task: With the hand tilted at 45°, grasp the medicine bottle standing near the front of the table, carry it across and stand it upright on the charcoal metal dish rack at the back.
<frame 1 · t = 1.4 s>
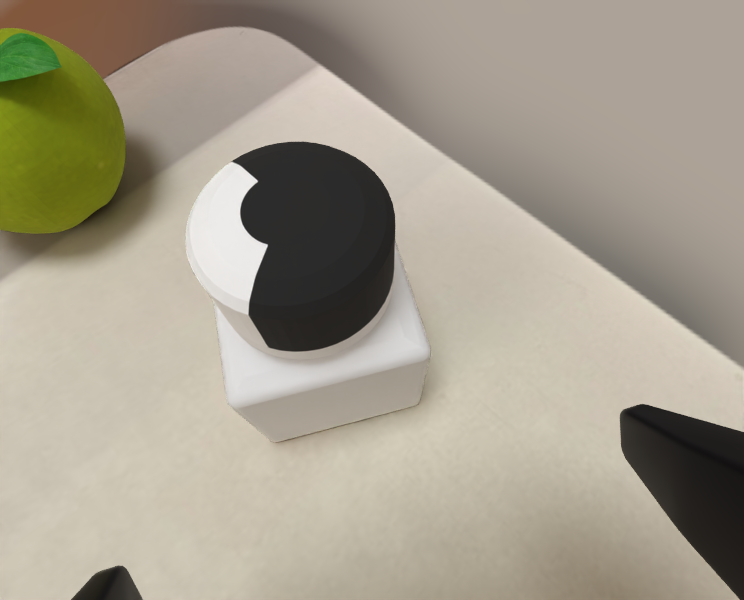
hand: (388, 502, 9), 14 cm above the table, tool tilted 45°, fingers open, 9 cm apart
fruit: (79, 199, 29), on the table
medicine bottle: (331, 355, 25), on the table
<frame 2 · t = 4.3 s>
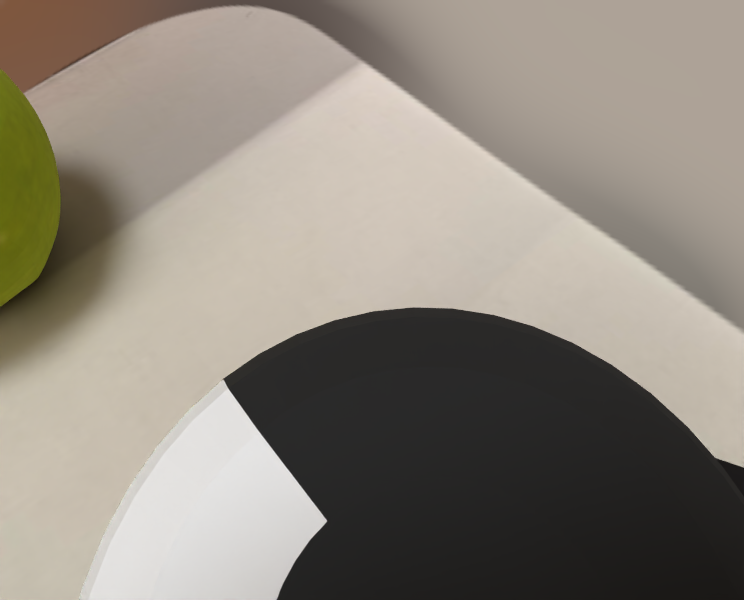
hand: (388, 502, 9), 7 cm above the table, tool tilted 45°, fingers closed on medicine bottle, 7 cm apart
medicine bottle: (399, 567, 14), on the table, touching gripper
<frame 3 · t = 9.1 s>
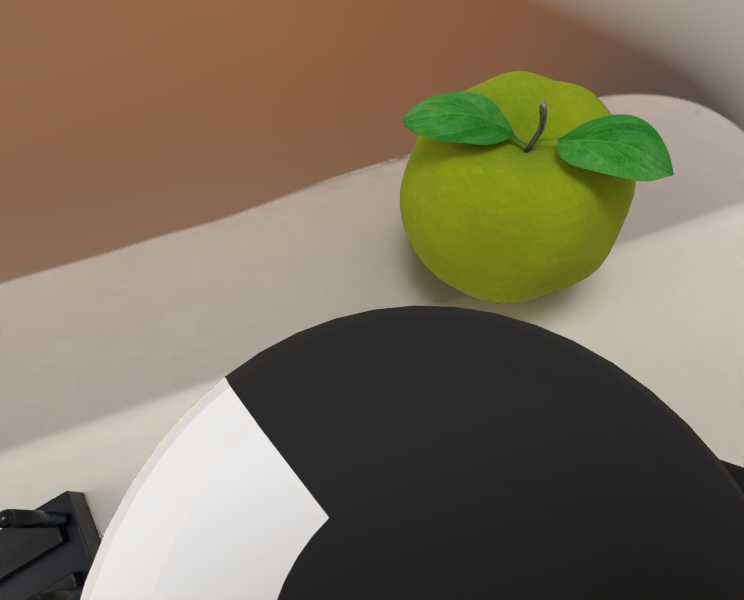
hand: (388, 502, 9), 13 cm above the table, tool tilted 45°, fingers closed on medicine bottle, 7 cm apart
fruit: (489, 252, 26), on the table
medicine bottle: (400, 566, 14), point 7 cm above the table, touching gripper
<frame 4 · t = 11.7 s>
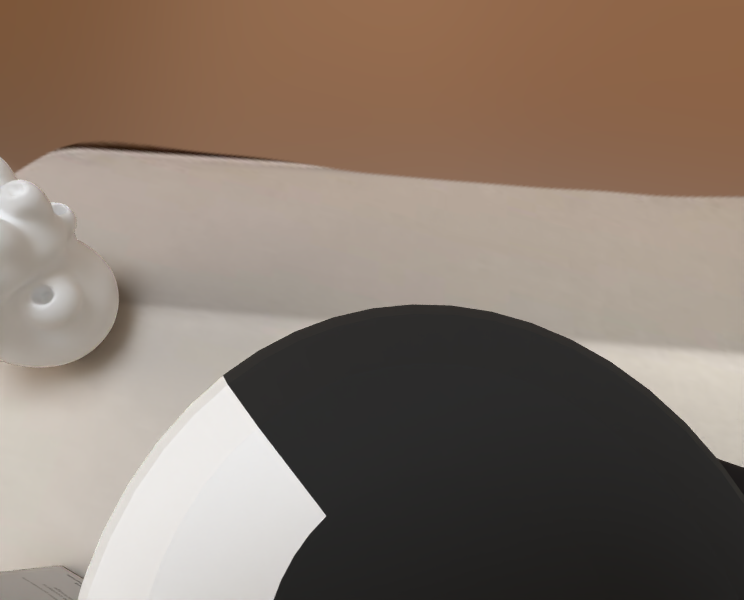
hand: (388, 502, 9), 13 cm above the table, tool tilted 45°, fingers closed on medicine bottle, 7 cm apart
figurine: (77, 329, 25), on the table
medicine bottle: (399, 565, 14), point 6 cm above the table, touching gripper
when the fingers open (8 cm above the table, at t = 13.7 s): medicine bottle stays where it is, resting on dish rack.
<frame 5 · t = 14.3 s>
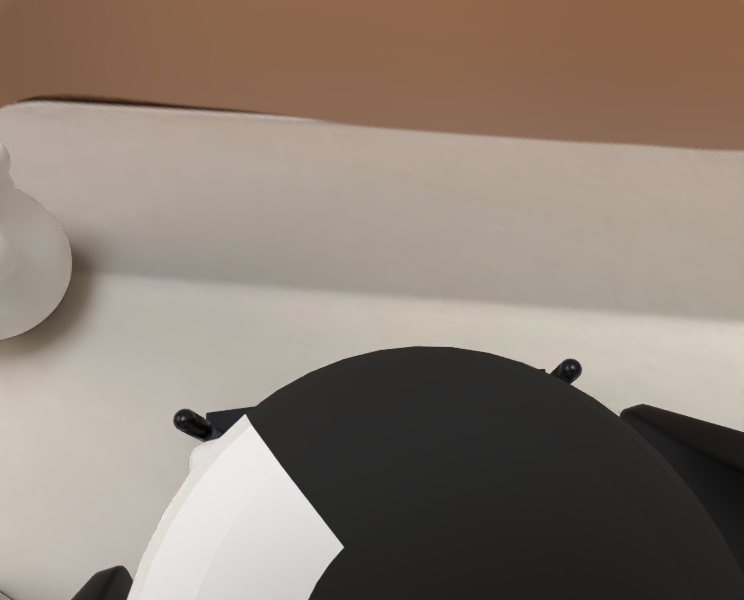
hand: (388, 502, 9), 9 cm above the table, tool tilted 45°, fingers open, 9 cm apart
dish rack: (399, 564, 16), on the table
figurine: (26, 302, 21), on the table
medicine bottle: (402, 572, 15), point 2 cm above the table, touching dish rack
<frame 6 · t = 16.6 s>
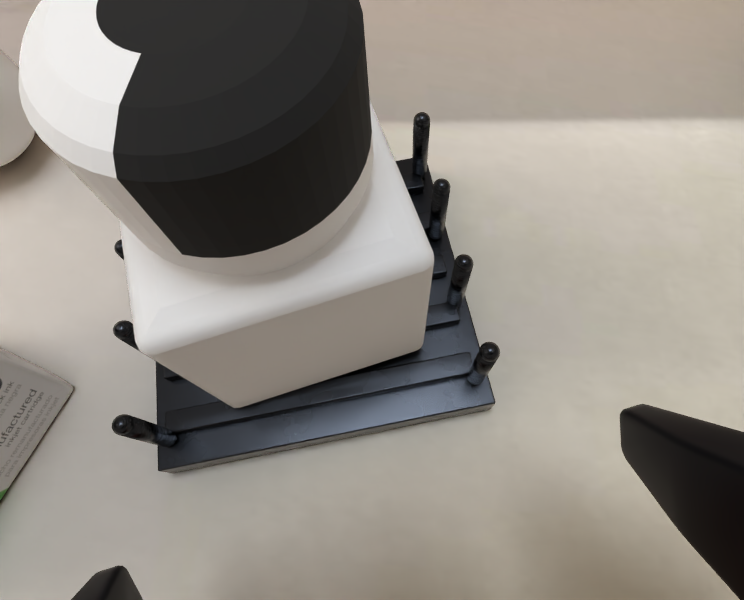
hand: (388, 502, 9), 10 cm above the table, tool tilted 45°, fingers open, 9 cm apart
dish rack: (311, 306, 21), on the table
figurine: (4, 152, 25), on the table
medicine bottle: (306, 295, 19), point 2 cm above the table, touching dish rack
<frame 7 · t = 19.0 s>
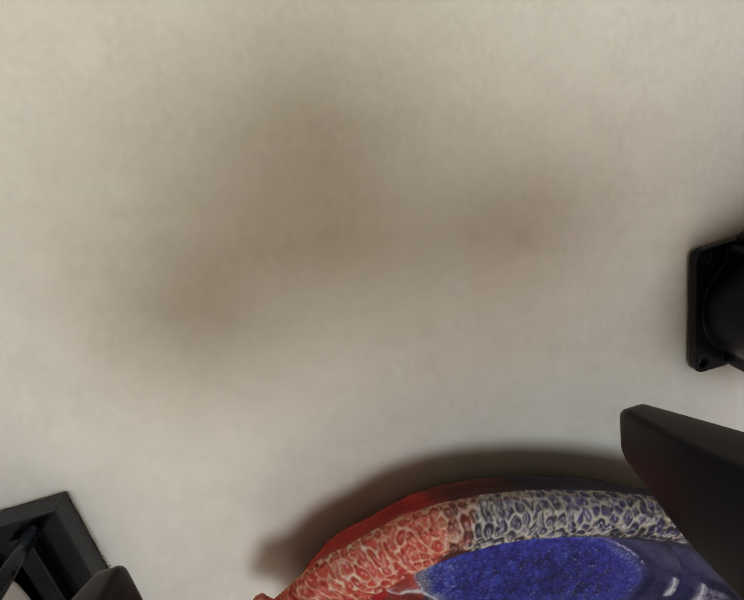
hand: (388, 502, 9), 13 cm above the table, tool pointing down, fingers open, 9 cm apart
dish: (526, 564, 28), on the table
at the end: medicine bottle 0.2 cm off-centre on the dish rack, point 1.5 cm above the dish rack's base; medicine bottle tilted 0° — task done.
